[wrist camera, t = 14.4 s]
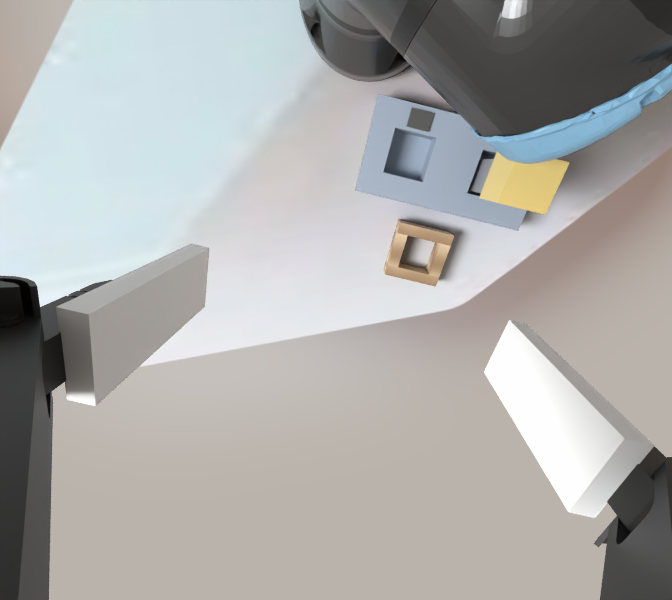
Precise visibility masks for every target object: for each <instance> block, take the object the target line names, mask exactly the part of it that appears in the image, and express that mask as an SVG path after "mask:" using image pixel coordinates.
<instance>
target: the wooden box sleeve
mask: <svg viewBox="0 0 672 600" xmlns="http://www.w3.org/2000/svg"><path fill="white" fill-rule="evenodd" d="M408 236H412V237H416V238H420V239H424V240H428V241H432V242H435V245H434V247H433V250H432V253H431V256H430V259H429V262H428V264H427V267H426V269H423V268H418V267H414V266H410V265H406V264H402V263H399V262H400V259H401V256H402V253H403V249H404V246H405V243H406V240H407V237H408ZM453 239H454V235H453V234H452V233H450V232H447V231H443V230H439V229H435V228H431V227H427V226H423V225H419V224H415V223H411V222H407V221H403V220H398V223H397V226H396V230H395V233H394V236H393V240H392V243H391V246H390V250H389V253H388V257H387V260H386V263H385V267H384V272H385V274H386V275H390V276H394V277H398V278H403V279H407V280H411V281H415V282H419V283H423V284H428V285H432V286H436V284H437V282H438V279H439V276H440V274H441V271H442V268H443V266H444V263H445V260H446V257H447V255H448V252H449V249H450V247H451V244H452V241H453Z"/></svg>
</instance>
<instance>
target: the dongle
mask: <svg viewBox="0 0 672 600" xmlns="http://www.w3.org/2000/svg"><path fill="white" fill-rule="evenodd" d="M569 163H570V162H566V161H562V160H558V159H554V160H550V161H546V162H541V163H534V164H522V163H517V162H514V161H510V160H508V159H506V158H504V157H503V156H502V155H501V154H500V153H498V152H496V155H495V158H494V159H480V160H479V162H478V165H477V168H476V171H475V173H474V176H473V179H472V181H471V184H470V187H469V191H473V192H477V193H481V194H480V197H479V198H481V199H485V200H488V201H492V202H496V203H500V204H504V205H508V206H512V207H516V208H520V209H524V210H528V211H532V212H536V213H540V214H544V215H545V214H546V212H547V210H548V208H549V206H550V204H551V202H552V199H553V197H554V195H555V193H556V191H557V189H558V187H559V185H560V182H561V180H562V178H563V176H564V174H565V172H566V170H567V167H568V165H569Z"/></svg>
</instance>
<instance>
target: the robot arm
mask: <svg viewBox="0 0 672 600" xmlns="http://www.w3.org/2000/svg"><path fill="white" fill-rule="evenodd" d="M299 2H300V9H301V14H302V18H303V21H304V24H305V27H306V30H307V32H308V35H309V37H310V40H311V42H312V44H313V46H314V47H315V49H316V51H317V52H318V54H319V55H320V56H321V58H322V59H323V60H324V61H325V62H326V63H327V64H328V65H329V66H330V67H331V68H332V69H334V70H335V71H337V72H338V73H340V74H342V75H344V76H346V77H348V78H351V79H354V80H359V81H379V80H383V79H386V78H389V77H392V76H394V75H396V74H398V73H400V72H401V71H403V70H404V69H406V68H407V67H409V66H410V65H411V66H412V67H413V68H414V69H415V70H416V71H417V72H418V73H419V74H420V75H421V76H422V77H423V78H424V79H425V80H426V81H427V82H428V83H429V84H430V85H431V86H432V87H433V88H434V89H435V90H436V91H437V92H438V93H439V94H440V95H441V96H442V97H443V98H444V99H445V100H446V101H447V102H448V103H449V104H450V105H451V106H452V107H453V108H454V109H455V110H456V111H457V112H458V114H459V115H460V116H461V117H462V118H463V119H464V120H465V121H466V122H467V123H468V124H469V125H470V126H471V131H472V132H473V133H474V135H475V136H476V137H478V138H479V139H482V140H484V141H486V142H488V143H489V144H490V145H491V146H492V147H493V148H494V149H495V150H496V151H497V152H498V153H500V154H501V155H502V156H503V157H504V158H506V159H508V160H510V161H514V162H517V163H522V164H534V163H541V162H546V161H550V160H554V159H557V158H560V157H563V156H565V155H568V154H570V153H573V152H575V151H578V150H580V149H582V148H584V147H587V146H589V145H591V144H593V143H594V142H596V141H598V140H600V139H602V138H604V137H606V136H608V135H609V134H611V133H613V132H615V131H616V130H618V129H620V128H621V127H623V126H624V125H626V124H627V123H629V122H630V121H632V120H633V119H635V118H636V117H638V116H639V115H640V114H641V112H642V107H644V106H646V105H648V104H650V103H652V102H655V101H657V100H660V99H662V98H663V97H664V96H665V95H666V94H668V93H669V92H670V91H671V90H672V0H299ZM208 257H209V248H207V247H203V246H199V245H194V244H190V245H187V246H185V247H183V248H181V249H179V250H177V251H175V252H173V253H170V254H168V255H166V256H164V257H162V258H160V259H158V260H155V261H153V262H151V263H149V264H147V265H145V266H143V267H140V268H138V269H136V270H134V271H132V272H130V273H128V274H125V275H123V276H121V277H119V278H117V279H115V280H108V281H104V282H99V283H94V284H92V285H89V286H87V287H85V288H83V289H80V291H76V292H74V293H71V294H69V296H65V297H62V298H60V299H58V300H56V301H53V302H51V303H49V304H47V305H44V306H42V307H40V304H39V297H38V290H37V285H36V284H35V282H33V281H31V280H29V279H26V278H21V277H14V276H0V600H49V561H50V514H51V469H52V424H53V423H52V422H53V398H52V391H53V390H54V389H55V388H57V387H58V386H59V385H61V384H62V383H63V382H65V387H66V395H67V400H71V401H76V402H80V403H85V404H89V405H94V406H96V405H97V404H98V403H99V402H101V400H103V399H104V398H105V397H106V396H107V395H108V394H109V393H110V392H111V391H113V390H114V389H115V388H116V387H117V386H118V385H119V384H120V383H121V382H122V381H124V380H125V378H127V377H128V376H129V375H130V374H131V373H132V372H133V371H134V370H136V369H137V368H138V367H139V366H140V365H141V364H142V363H143V362H144V361H145V360H147V359H148V358H149V357H150V356H151V355H152V354H153V353H154V352H155V351H156V350H158V349H159V348H160V347H161V346H162V345H163V344H164V343H165V342H166V341H167V340H168V339H170V338H171V337H172V336H173V335H174V334H175V333H176V332H177V331H178V330H179V329H181V328H182V327H183V326H184V325H185V324H186V323H187V322H188V321H189V320H190V319H191V318H193V317H194V316H195V315H196V314H197V313H198V312H199V311H200V310H201V309H202V308H204V307H205V296H206V283H207V270H208ZM484 373H485V375H486V376H487V378H488V380H489V381H490V383H491V384H492V386H493V388H494V389H495V391H496V393H497V394H498V396H499V398H500V399H501V401H502V403H503V404H504V406H505V408H506V409H507V411H508V412H509V414H510V416H511V417H512V419H513V421H514V423H515V424H516V426H517V428H518V429H519V431H520V433H521V434H522V436H523V438H524V439H525V441H526V442H527V444H528V446H529V447H530V449H531V451H532V452H533V454H534V456H535V457H536V459H537V461H538V462H539V464H540V466H541V467H542V469H543V471H544V472H545V474H546V476H547V477H548V479H549V480H550V482H551V484H552V486H553V487H554V489H555V490H556V492H557V494H558V496H559V497H560V499H561V501H562V502H563V504H564V505H565V507H566V509H567V510H568V512H570V513H574V514H579V515H583V516H588V517H592V518H595V517H596V516H597V515H598V514H599V513H600V511H601V510H602V509H603V508H604V507H605V505H606V504H607V503H609V505H610V506H611V508H612V509H613V510H614V512H615V513H616V514H617V517H616V518H615V519H614V520H613V521H612V522H611V523H610V525H609V526H608V527H607V528H606V529H605V530H604V532H603V533H602V534H601V535H600V536H599V537H598V539H597V540H596V541H595V543H594V544H595V545H597V546H598V547H599V546H600V545H601V544H602V543H607V547H606V556H605V563H604V571H603V579H602V588H601V597H600V600H672V457H667V458H666V457H665V456H664V455H663V454H662V453H661V452H660V451H659V450H658V449H657V448H655V447H654V445H653V444H652V443H651V442H650V441H649V440H648V439H647V438H646V437H645V436H644V435H643V434H642V433H641V432H640V431H639V430H638V429H637V428H635V427H634V426H633V425H632V424H631V423H630V422H629V421H628V420H627V419H626V418H625V417H624V416H623V415H622V414H621V413H620V412H619V411H617V410H616V409H615V408H614V407H613V406H612V405H611V404H610V403H609V402H608V401H607V400H606V399H605V398H604V397H603V396H602V395H601V394H600V393H599V392H597V390H595V389H594V388H593V387H592V386H591V385H590V384H589V383H588V382H587V381H586V380H585V379H584V378H583V377H582V376H581V375H579V374H578V372H576V371H575V370H574V369H573V368H572V367H571V366H570V365H569V364H568V363H567V362H566V361H565V360H564V359H563V358H562V357H561V356H560V355H559V354H558V353H557V352H555V351H554V350H553V349H552V348H551V347H550V346H549V345H548V344H547V343H546V342H545V341H544V340H543V339H542V338H541V337H540V336H539V335H537V334H536V333H535V332H534V331H533V330H532V329H531V328H530V327H529V326H528V325H527V324H525V323H520V322H516V321H512V320H509V322H508V324H507V326H506V328H505V330H504V332H503V334H502V336H501V338H500V340H499V342H498V344H497V346H496V348H495V350H494V353H493V354H492V356H491V359H490V361H489V363H488V365H487V367H486V369H485V371H484Z"/></svg>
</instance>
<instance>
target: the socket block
mask: <svg viewBox="0 0 672 600" xmlns="http://www.w3.org/2000/svg"><path fill="white" fill-rule="evenodd" d="M496 152H497V151H496V150H495V149H494V148H493V147H492V146H491V145H490V144H489V143H488V142H486V141H484V140H482V139H479V138H478V137H476V136H475V135H474V133H473V132H472V131H471V126H470V125H469V124H468V123H467V122H466V121H465V120H464V119H463V118H462V117H461V116H460V115H459V114H455V113H451V112H447V111H444V110H440V109H436V108H432V107H428V106H424V105H420V104H416V103H412V102H408V101H404V100H400V99H396V98H393V97H389V96H385V95H381V94H378V97H377V101H376V105H375V109H374V113H373V117H372V122H371V126H370V130H369V134H368V138H367V142H366V147H365V151H364V155H363V159H362V163H361V168H360V172H359V176H358V180H357V184H356V188H355V191H359V192H363V193H367V194H371V195H375V196H379V197H383V198H387V199H392V200H396V201H400V202H404V203H408V204H412V205H416V206H420V207H424V208H428V209H432V210H436V211H440V212H444V213H448V214H452V215H456V216H460V217H464V218H468V219H473V220H477V221H481V222H485V223H489V224H493V225H497V226H501V227H505V228H509V229H513V230H517V231H518V230H519V228H520V225H521V223H522V221H523V219H524V216H525V214H526V212H527V210H524V209H520V208H516V207H512V206H508V205H504V204H500V203H496V202H492V201H488V200H485V199H481V198H479V197H480V194H481V193H477V192H473V191H469V187H470V184H471V181H472V179H473V176H474V173H475V171H476V168H477V165H478V162H479V160H480V159H494V158H495V155H496Z"/></svg>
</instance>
